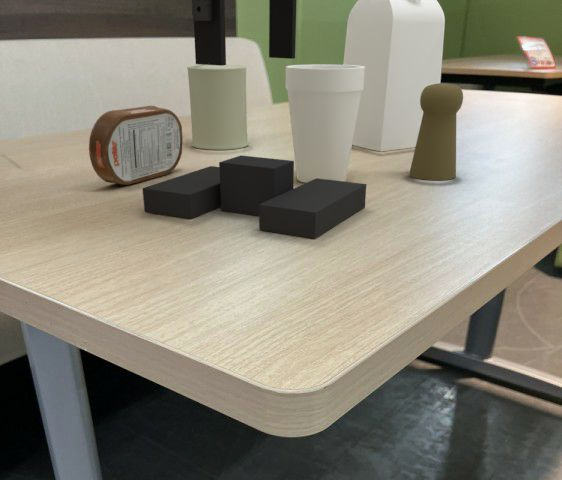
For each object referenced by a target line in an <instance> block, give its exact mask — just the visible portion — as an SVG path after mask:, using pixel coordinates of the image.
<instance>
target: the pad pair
mask: <svg viewBox="0 0 562 480" xmlns="http://www.w3.org/2000/svg"><path fill="white" fill-rule="evenodd" d="M141 191H142V199H143V208H144V210H143V211H144V212H145V213H151V214H157V215H162V216H169V217H175V218H181V219H182V218H183V219H187V220H189V219H190V220H192V219H194V218H197V217H199V216H202V215H204V214H206V213H208V212H211V211H213V210H215V209H218V208H221V193H220V170H219V166H213V165H210V166H207V167H205V168H201V169H198V170H194V171H191V172H189V173H185V174H182V175H179V176H176V177H173V178H170V179H166V180H163V181H160V182H157V183H154V184H151V185H148V186H145V187H142V190H141ZM366 194H367V184H366V183H360V182H351V181H335V180H327V179H318V178H316V179H314V180H311V181H309V182H307V183H303V184H301V185H298V186H296V187H294V189H292V190H290V191H287V192H285V193H283V194H281V195H279V196H277V197H274V198H272V199H270V200H268V201H266V202H264V203H261V204H259V216H258V226H259V227H258V230H259V231H263V232H270V233H276V234H282V235H287V236H295V237H301V238H308V239H312V240H313V239H314V240H315V239H317V238H319V237H320V236H322V235H323V234H325V233H326V232H328V231H329V230H331V229H333V228H334V227H336V226H337V225H340V223H342V222H344V221H345V220H347V219H349V218H350V217H352V216H353V215H355V214H356V213H358V212H360V211H361V210H362V209H364V208H366V199H367V198H366V197H367V195H366Z"/></svg>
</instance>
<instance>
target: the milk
mask: <svg viewBox="0 0 562 480" xmlns="http://www.w3.org/2000/svg"><path fill="white" fill-rule="evenodd" d="M346 25H347V26H346V33H345V42H344V54H343V63H342V65H357V66H364V67H365V71H364V87H363V90H362V91H361V96H360V102H359V108H358V113H357V119H356V125H355V130H354V136H353V142H352V146H355V147H359V148H363V149H367V150H371V151H376V152H388V151H397V150H406V149H412V148H414V149H415V147H416V143H417V138H418V134H419V130H420V125H421V121H422V117H423V110H422V108H421V105H420V97H421V93H422V91H423V90H424V88H425V87H427V86H428V85H432V84H438V83H441V80H442V68H443V67H442V66H443V54H444V39H445V27H446V17H445V12H444V11H443V8H442V6H441V5H440V3H439V1H438V0H357V1H356V2H355V4H354V5H353V7H352V8H351V10H350V12H349V14H348V17H347V23H346Z"/></svg>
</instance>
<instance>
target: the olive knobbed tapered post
mask: <svg viewBox="0 0 562 480" xmlns="http://www.w3.org/2000/svg"><path fill="white" fill-rule="evenodd" d="M463 101H464V93H463V90H462V88H461V87H460V86H459V85H456V84H453V83H443V82H442V83H441V82H440V83H438V84H432V85H428V86H427V87H425V88H424V90H423V91H422V93H421V97H420V105H421V108H422V110H423V117H422V121H421V125H420V130H419V134H418V138H417V143H416V147H414V151H413V156H412V159H411V160H412V161H411V165H410V170H409V176H410V177H411V178H414V179H419V180H425V181H448V180H454V179H455V178H456V177H457V113H458V112H459V111H460V109H461V108H462V105H463Z"/></svg>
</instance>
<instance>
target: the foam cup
mask: <svg viewBox="0 0 562 480" xmlns="http://www.w3.org/2000/svg"><path fill="white" fill-rule="evenodd" d="M364 71H365V67H364V66H357V65H343V64H332V63H331V64H330V63H329V64H328V63H327V64H326V63H325V64H322V63H320V64H319V63H318V64H317V63H315V64H312V63H311V64H291V65H286V66H285V89H286V90H287V99H288V109H289V118H290V127H291V138H292V146H293V155H294V166H295V173H296V175H297V176H296V180H297V181H299V182H301V183H303V184H305V183H307V182H309V181H311V180H314V179H316V178H318V179H327V180H335V181H344V182H347V181H346V179H347V175H348V170H349V164H350V159H351V153H352V147H353V145H352V142H353V136H354V130H355V125H356V119H357V113H358V108H359V102H360V96H361V91H362V90H363V87H364Z"/></svg>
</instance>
